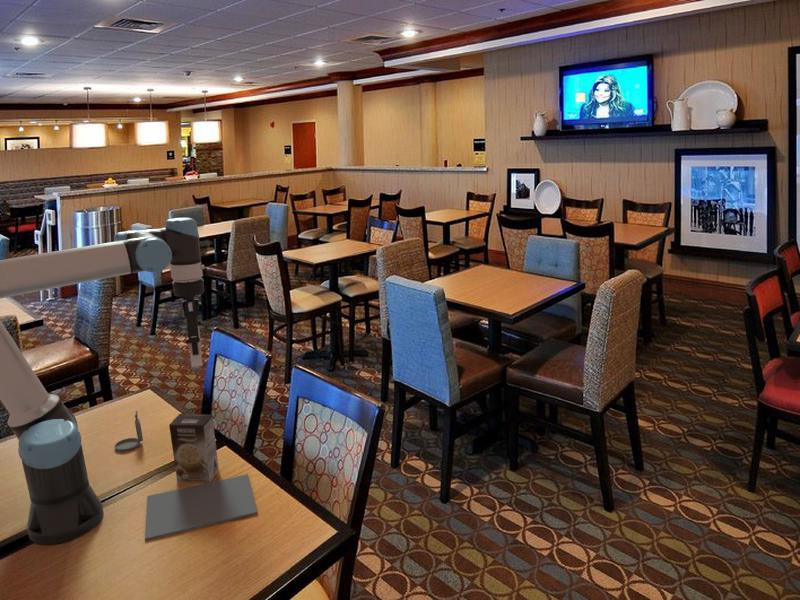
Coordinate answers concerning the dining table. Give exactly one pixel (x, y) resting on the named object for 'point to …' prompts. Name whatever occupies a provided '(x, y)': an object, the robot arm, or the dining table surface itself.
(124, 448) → the pocket watch
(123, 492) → the dining table surface
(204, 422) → the coffee box
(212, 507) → the mat
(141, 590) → the dining table surface
